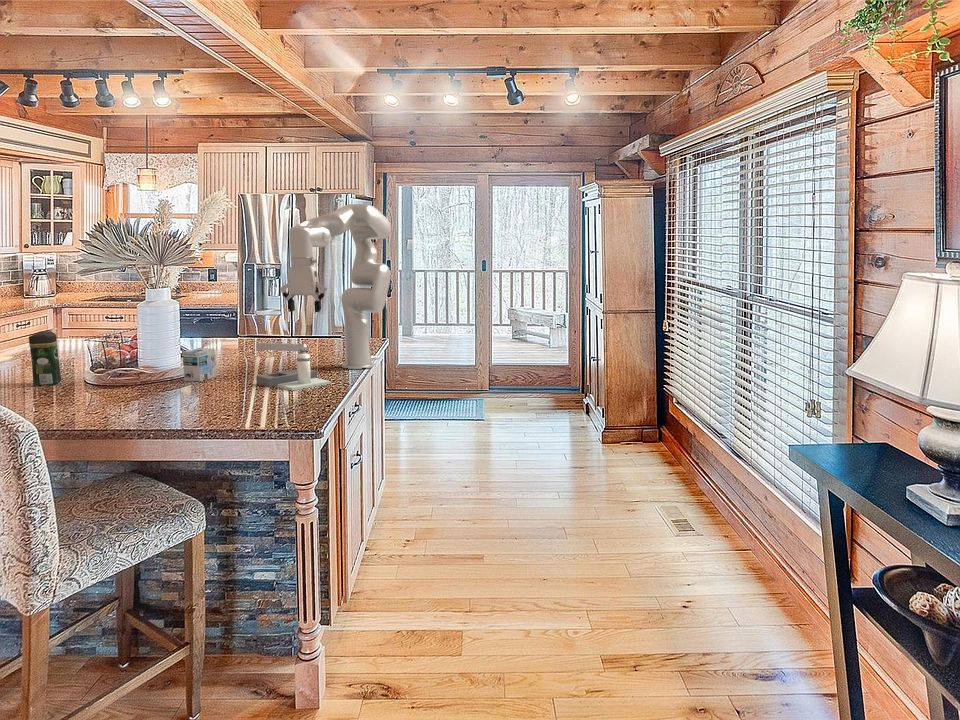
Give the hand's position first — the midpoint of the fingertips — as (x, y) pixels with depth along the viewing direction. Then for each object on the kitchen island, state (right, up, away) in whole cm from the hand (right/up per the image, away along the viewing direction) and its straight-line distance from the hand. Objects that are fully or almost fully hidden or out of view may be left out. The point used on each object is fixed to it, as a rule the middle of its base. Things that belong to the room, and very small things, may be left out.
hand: (304, 311), depth 253 cm
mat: (0, -26, -1) cm, 26 cm away
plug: (0, -25, -2) cm, 25 cm away
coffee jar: (-90, -26, -1) cm, 94 cm away
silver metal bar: (-11, -13, +11) cm, 20 cm away
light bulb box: (-40, -24, +9) cm, 48 cm away
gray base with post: (-8, -25, +5) cm, 27 cm away
